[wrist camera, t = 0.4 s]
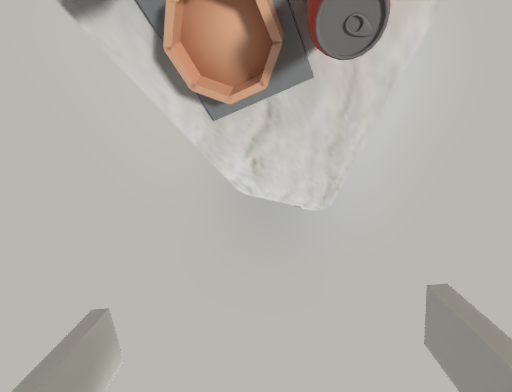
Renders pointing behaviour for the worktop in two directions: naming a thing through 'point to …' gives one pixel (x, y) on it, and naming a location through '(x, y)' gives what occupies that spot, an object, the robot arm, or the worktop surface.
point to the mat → (285, 70)
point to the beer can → (346, 25)
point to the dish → (223, 45)
